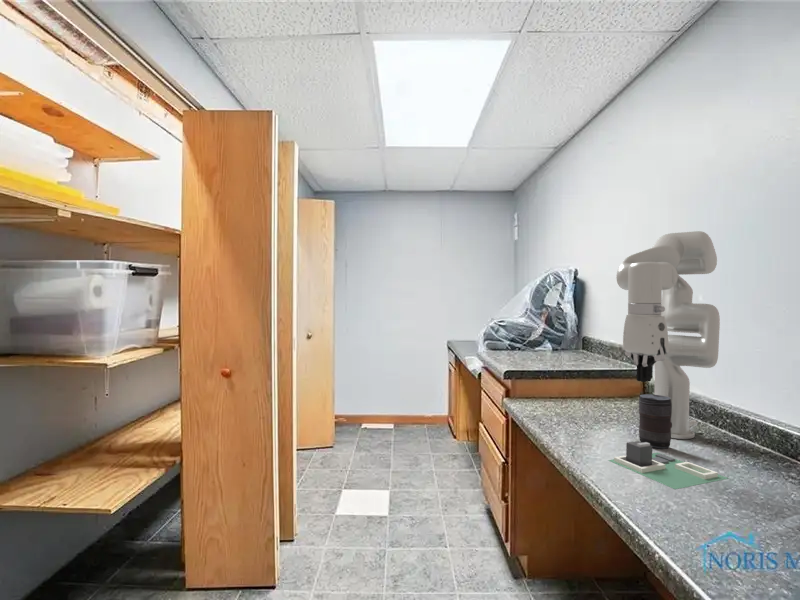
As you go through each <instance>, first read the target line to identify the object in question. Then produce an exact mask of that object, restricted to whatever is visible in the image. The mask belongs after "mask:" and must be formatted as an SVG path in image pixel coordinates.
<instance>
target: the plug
mask: <svg viewBox="0 0 800 600" xmlns="http://www.w3.org/2000/svg"><path fill="white" fill-rule="evenodd" d="M625 445H626V446H625V447H626V452H625V453H626V454H625V455H626V461H628V462H630V463H633V464H635V465H637V466H640V467H645V466H651V465H652V453H653V448H652V446H651V445H650V443H647V442H644V443H642V442H640V440H636V441H635V440H634V441H630V442H629V441H628V442H626V444H625Z"/></svg>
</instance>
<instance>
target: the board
mask: <svg viewBox="0 0 800 600" xmlns="http://www.w3.org/2000/svg"><path fill="white" fill-rule="evenodd" d="M607 461H609V462H610V463H613V464H615V465H618V466H620V467H622V468H623V469H624V468H625V469H626V470H629V471H631V472H634V473H635V474H638V475H641V476H643V477H645V478H647V479H650V480H653V481H655V482H657V483H659V484H661V485H663V486H666V487H669V488H671V489H672V490H678V489H679V490H680V489H683V488H690V487H693V486H698V485H703V484H709V483H714V482H718V481H723V480H729V479H730V478H729V477H727V476H725V475H721V474H719V472H717V471H714V470H711V469H709V468H706V467H703V466H701V465H698V464H695V463H692V462H689V461H682V460H680V459H677V458H674V457H671V456H669V455H666V454H663V453H660V452H652V465H651V466H645V467H640V466H637V465H635V464H633V463H630V462H628V461H626V454H625V455H621V456H614V457H613V459H608V460H607Z"/></svg>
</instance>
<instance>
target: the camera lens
mask: <svg viewBox="0 0 800 600" xmlns="http://www.w3.org/2000/svg"><path fill="white" fill-rule="evenodd" d="M638 414H639V425H638V426H639V427H638V431H639V432H638V437H639V442H642V443H644V442H647V443H650V445H651V446H652V449H657V450H665V449H666V450H667V449H669V448H670V446H671V442H672V440H671V439H672V438H671V428H672V422H671V414H672V403H671V398H669V397H666V396H662V395H655V394H653V393H652V394H650V393H648V394H647V393H646V394H640V395H639V400H638Z"/></svg>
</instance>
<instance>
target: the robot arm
mask: <svg viewBox="0 0 800 600" xmlns="http://www.w3.org/2000/svg"><path fill="white" fill-rule="evenodd" d="M717 264H718V256H717V253H716V249H715V246H714V242H713V241H712V238H711V237H710V235H709V234H708V233H707V232H705V231H700V230H699V231H698V230H696V231H695V230H694V231H687V232H686V231H683V232H671V233H667V234H663V235H661V236H660V237H659V238H658V239H657V240H656V241H655V243H654V244H653V246H652V247H650V248H647V249H645V250H642V251H639V252H636V253H634V254H631V255H629V256H627V257H625V259H623V261H622V262H621V263H620V265H619V267H618V269H617V272H616V278H615V279H616V282H617V285H618V287H620V288H621V289H622V290H625V291H627V292H628V293H627V314H626V316H625V320H624V325H623V326H624V327H623V335H622V347H623V350H624V355H625V356H627V357H629V358H631V359H632V361H633V363H634V365H635V366H636V381H637V382H642V383H647V382H651V381H652V367H653V366H654V395H662V396H666V397H669V398H671V403H672V414H671V422H672V428H671V439H678V440H679V439H680V440H689V439H693V438H695V437H696V436H695V432H694V431H693V430H691V427H696V426H698V421H697V420H695V419H690V386H691V385H690V383H691V382H690V379H689V376H688V375H687V374H686V372H685V371H684V370H683V368H682V367H692V368H705V369H710V368H714V367H716V365H717V362H718V358H719V350H720V349H719V347H720V346H719V345H720V330H721V329H720V328H721V327H720V326H721V324H720V323H721V322H720V313H719V309H718V308H717V306H716V305H713V304H710V303H694V302H693V296H694V295H693V294H694V292H693V288H692V286H691V285H690V284H689V283H688V282H687V281H686V280H685V279H684V278H682V276H680V275H707V274H708V275H709V274H712V273H713V272H714V271H715V270H716V268H717ZM669 332H672V333H684V334H686V333H687V334H699V335H700V336H696V335H693V336H692V335H683V334H681V335H680V334H669Z"/></svg>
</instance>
